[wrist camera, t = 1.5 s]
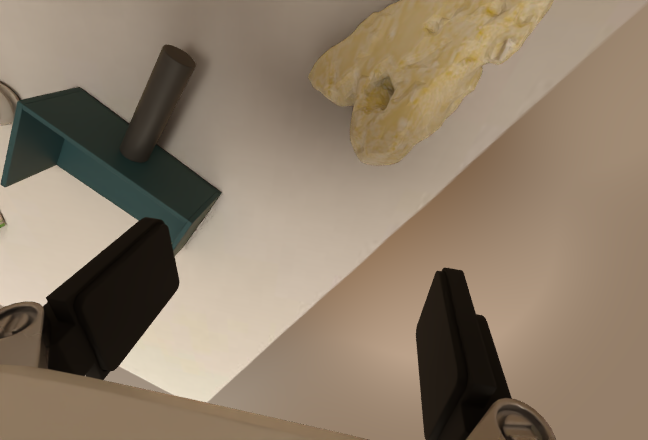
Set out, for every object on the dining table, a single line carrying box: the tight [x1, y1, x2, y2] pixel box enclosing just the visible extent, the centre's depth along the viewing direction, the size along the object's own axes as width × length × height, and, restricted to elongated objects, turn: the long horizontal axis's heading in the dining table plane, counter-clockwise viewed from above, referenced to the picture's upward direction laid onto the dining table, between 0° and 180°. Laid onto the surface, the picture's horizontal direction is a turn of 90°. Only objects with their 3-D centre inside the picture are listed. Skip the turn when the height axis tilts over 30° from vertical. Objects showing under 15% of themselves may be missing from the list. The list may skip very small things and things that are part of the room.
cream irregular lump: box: [308, 0, 553, 166], centre depth 25 cm, size 15×7×15 cm
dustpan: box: [1, 45, 221, 257], centre depth 32 cm, size 17×22×6 cm
